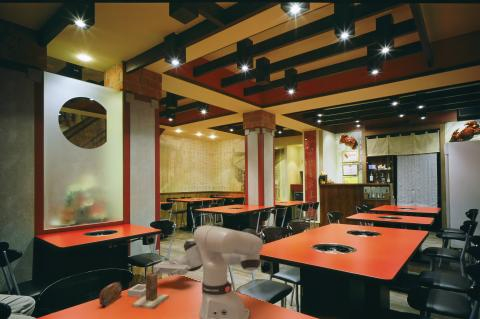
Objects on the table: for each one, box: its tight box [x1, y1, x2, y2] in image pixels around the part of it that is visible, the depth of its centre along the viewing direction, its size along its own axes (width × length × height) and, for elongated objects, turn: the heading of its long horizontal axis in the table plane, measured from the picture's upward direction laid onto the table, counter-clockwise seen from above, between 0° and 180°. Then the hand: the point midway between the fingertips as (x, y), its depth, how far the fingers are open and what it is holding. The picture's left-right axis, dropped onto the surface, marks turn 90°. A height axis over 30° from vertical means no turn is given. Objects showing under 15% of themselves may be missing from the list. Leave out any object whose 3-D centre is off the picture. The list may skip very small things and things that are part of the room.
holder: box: [127, 283, 146, 298], centre depth 153 cm, size 9×9×3 cm
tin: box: [98, 281, 123, 307], centre depth 143 cm, size 15×3×8 cm, turn 168°
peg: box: [145, 272, 159, 301], centre depth 143 cm, size 4×4×12 cm
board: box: [131, 293, 170, 310], centre depth 142 cm, size 12×14×1 cm
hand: (163, 273), depth 155 cm, fingers open, 8 cm apart
